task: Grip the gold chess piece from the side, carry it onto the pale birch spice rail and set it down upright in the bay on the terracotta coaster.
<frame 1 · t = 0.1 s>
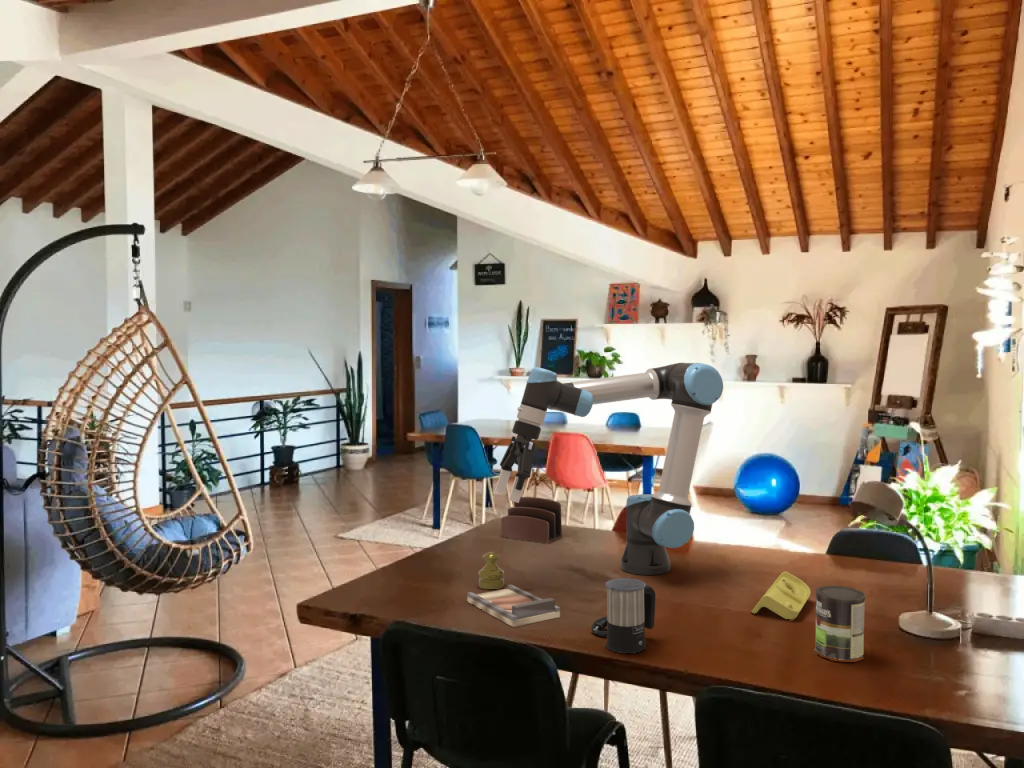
hand: (506, 497, 227), 28 cm above the table, tool tilted 20°, fingers open, 13 cm apart
letter holder: (531, 538, 297), on the table
coffee can: (839, 655, 184), on the table
plastic component: (783, 610, 216), on the table
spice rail: (512, 609, 217), on the table
milk frother: (617, 642, 194), on the table
gold chess piece: (491, 587, 238), on the table
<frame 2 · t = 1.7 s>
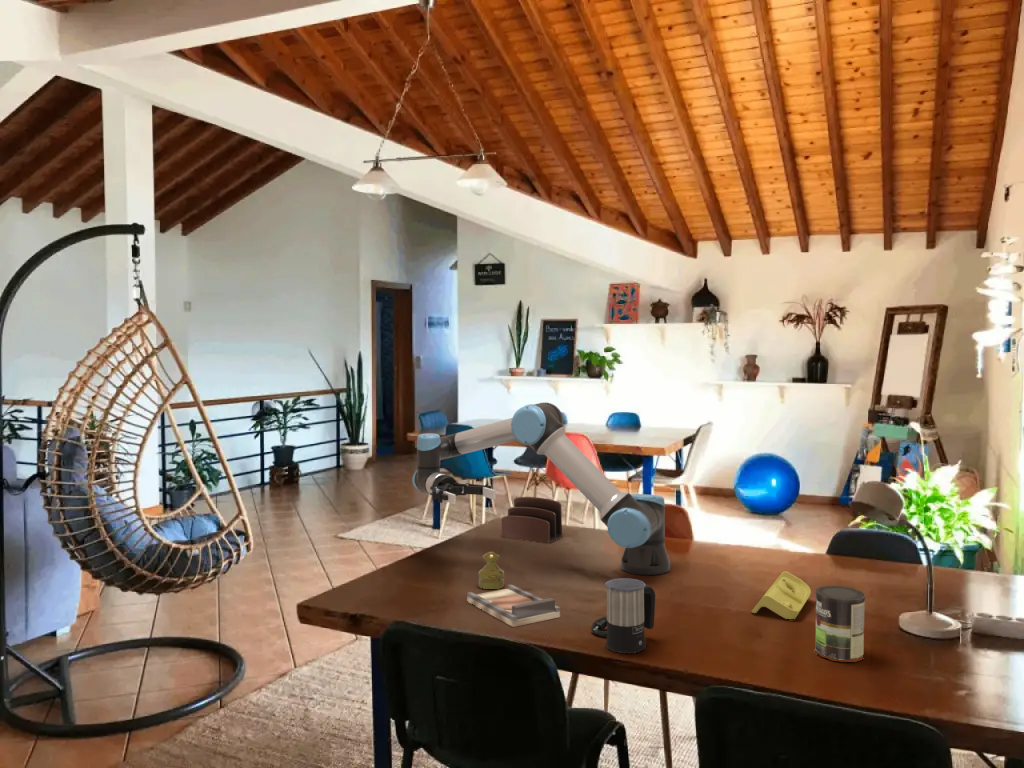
hand: (475, 497, 244), 24 cm above the table, tool horizontal, fingers open, 13 cm apart
nothing on the table moved.
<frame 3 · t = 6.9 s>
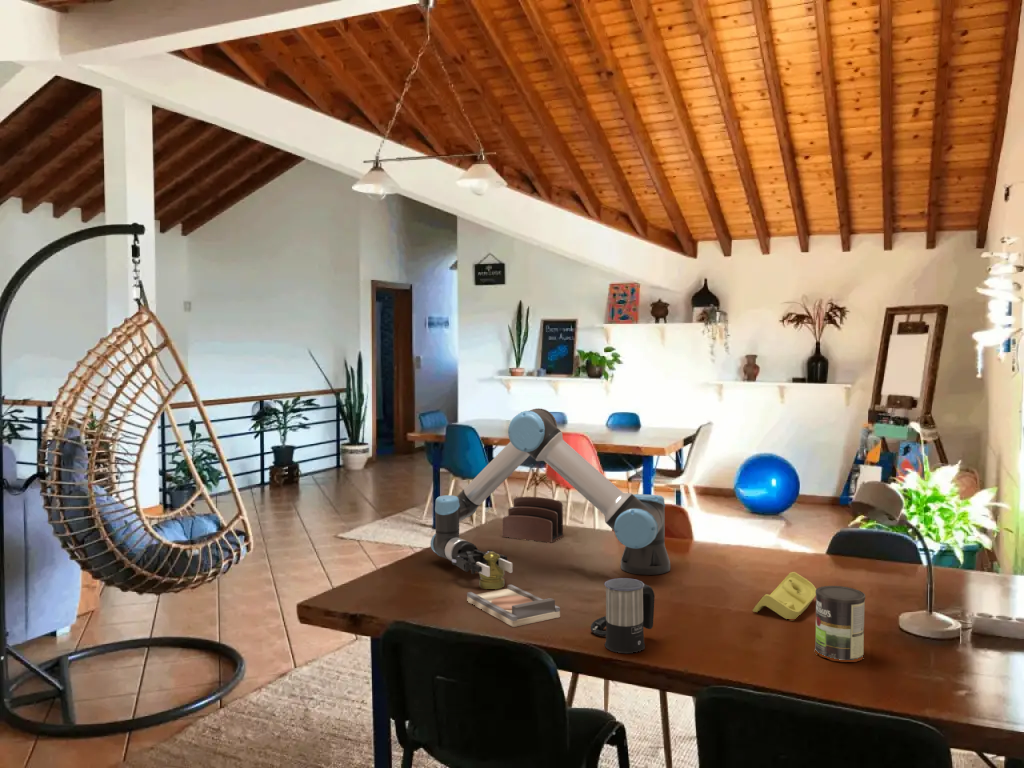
hand: (500, 569, 233), 6 cm above the table, tool horizontal, fingers closed on gold chess piece, 7 cm apart
gold chess piece: (491, 587, 238), on the table, touching gripper
when the fingers open (9 cm above the table, at t = 12.4 s): gold chess piece drops 1 cm, resting on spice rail.
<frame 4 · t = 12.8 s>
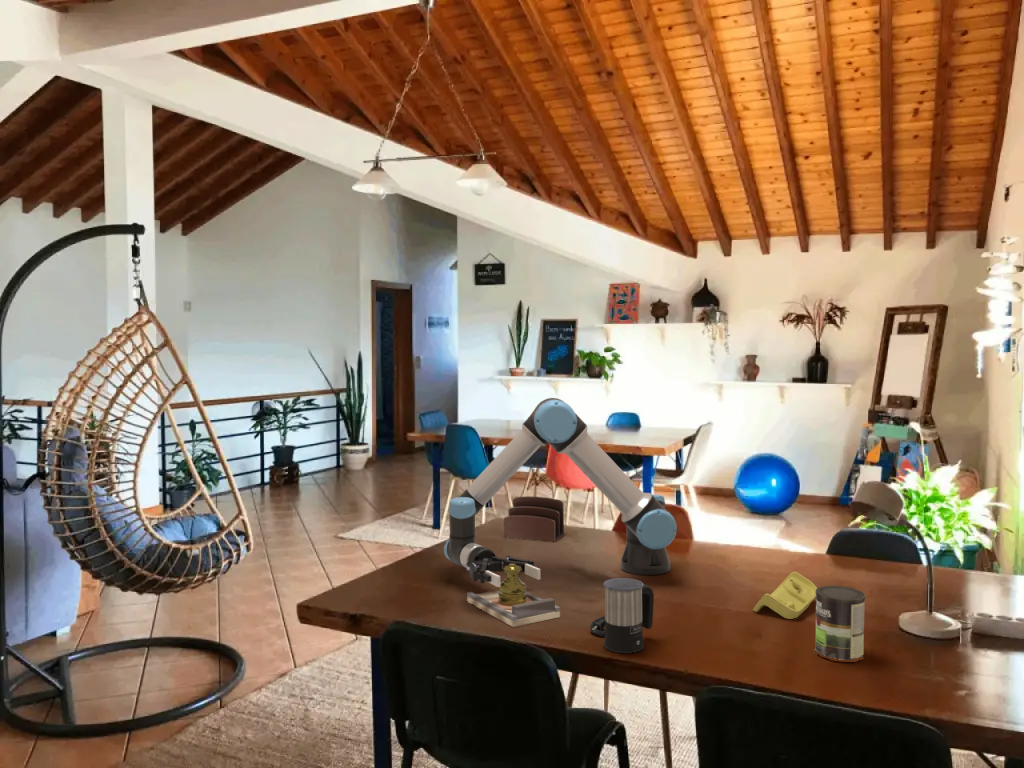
hand: (519, 578, 213), 9 cm above the table, tool horizontal, fingers open, 11 cm apart
gold chess piece: (512, 602, 217), point 2 cm above the table, touching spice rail
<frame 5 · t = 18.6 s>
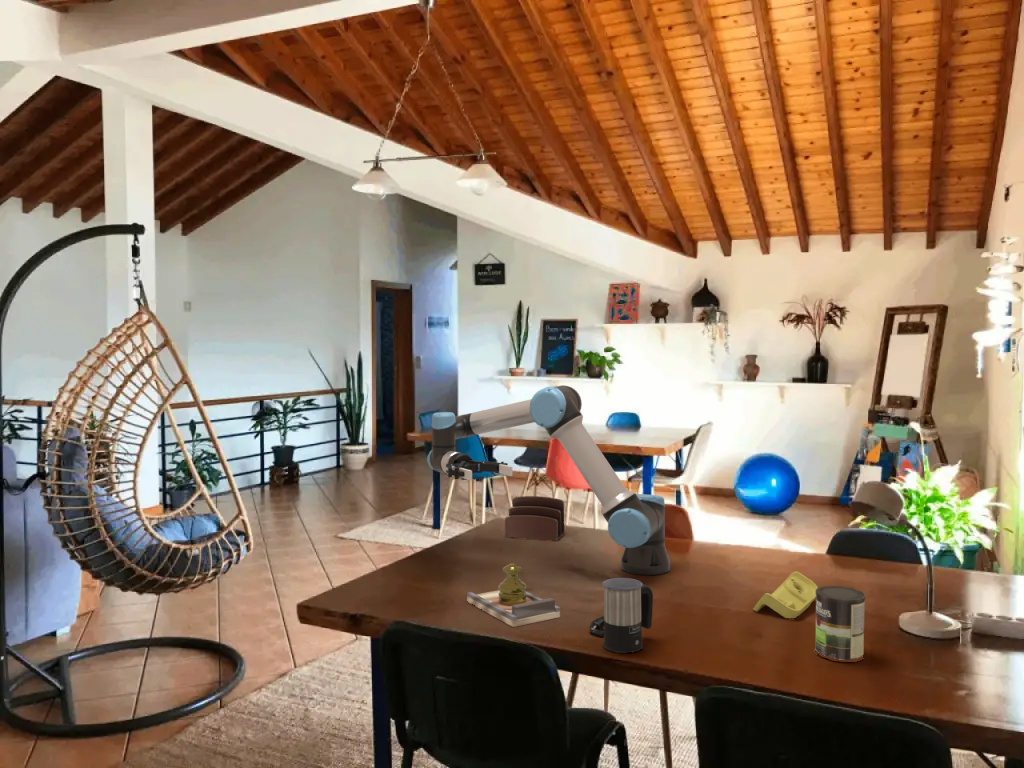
hand: (491, 473, 241), 32 cm above the table, tool horizontal, fingers open, 13 cm apart
at the end: gold chess piece inside the target area on the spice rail (0.2 cm from its centre), point 1.7 cm above the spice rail's base; gold chess piece tilted 0°; the gripper is holding nothing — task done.
